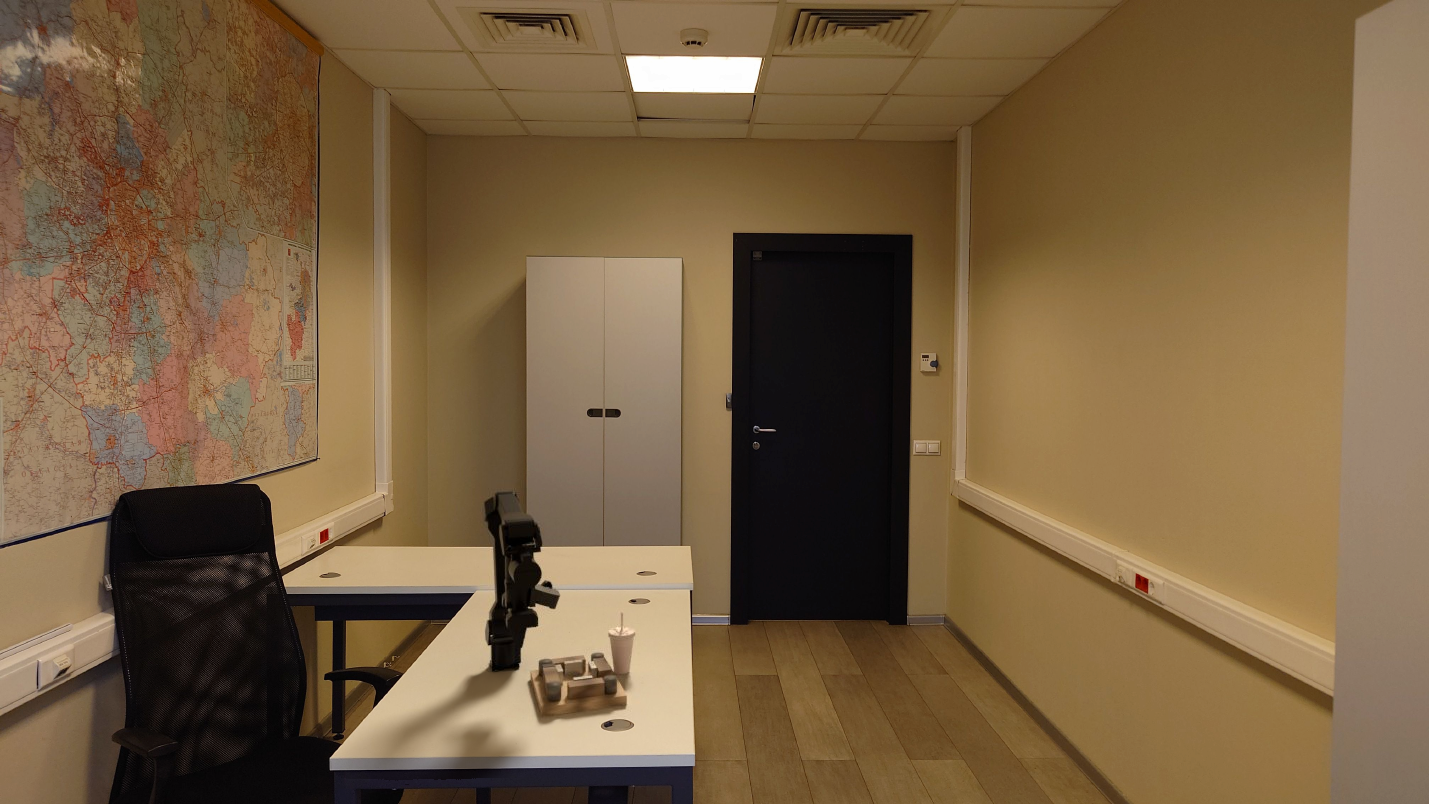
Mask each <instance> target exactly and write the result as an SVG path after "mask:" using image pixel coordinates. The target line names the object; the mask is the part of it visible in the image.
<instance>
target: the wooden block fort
mask: <svg viewBox="0 0 1429 804" xmlns="http://www.w3.org/2000/svg"><path fill="white" fill-rule="evenodd" d="M573 660H582V661H583V674H581V675H573V676H565V675H564V662H565V661H573ZM586 661H587V658H586V657H585V655H584V654H583V655H574V656H564V657H556V658H551V659H550V658H542V659H539V660H538V669H534V670H530V683H531V686H532V689H533V692H534V696H535V699H536V702H537V703H536V704H537V707H538V709H539V713H540V717H542V718H544V717H550V716H557V715H566V714H572V713H579V712H585V711H592V710H597V709H598V710H599V709H600V710H601V709H606V708H613V707H618V706H626V705H628V704H627V703H628V700H627V699H628V695H627V693H626V691H625V689H624V688H623V686H622V684H621V683H620V680H619V679H618V677H617V675H616V673H615V672H614V669H612V666H611V664H610V662H609V661H608V660H607V659H606V657H605V654H604V653H603V652H600V651H599V652H598V651H597V652H593V653H591V655H590V662H592V661H594V663H595V665H596V667H597V678H594V679H587V680H579V681H573V678H575V677H582V676H589V675H588V663H587V662H586ZM552 663H555V665H560V664H561V667H562V669H563V685H561V699H560V700H557V701H549V700H547V695H546V691H545V687H544V682H543V678H542V665H543V664H552Z"/></svg>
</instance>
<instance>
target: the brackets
mask: <svg viewBox="0 0 1429 804" xmlns="http://www.w3.org/2000/svg"><path fill="white" fill-rule="evenodd" d="M587 664H588V675H589V676H582V677H575V678H573V681H579V680H587V679H594V678H597V667H596V665H595V663H594V661H592V662H591V661H588V662H587ZM556 669H557V673H558V676H559V680H560V682H561V685H563V669H562V667H561V664H560V665H556ZM581 674H583V661H582V660H573V661H565V662H564V675H565V676H573V675H581Z"/></svg>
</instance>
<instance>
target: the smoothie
mask: <svg viewBox="0 0 1429 804" xmlns="http://www.w3.org/2000/svg"><path fill="white" fill-rule="evenodd" d="M635 636H636V630H635V629H634V628H633V627H630V626H624V611H621V612H620V626H616V627H612V628H611V629H609V630H608V636H607V637H608V638H609V642H610V643H609V644H610V650H611V658H612V665H613V672H614V674H617V675H626V674H628V673H630V670H631V663H632V654H633V646H634V640H635V639H634V637H635Z"/></svg>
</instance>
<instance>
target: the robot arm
mask: <svg viewBox="0 0 1429 804" xmlns="http://www.w3.org/2000/svg"><path fill="white" fill-rule="evenodd" d="M520 503H521V502H520V499H519V498H518V496H517V492H516V491H513V490H504V491H503V490H502V491H501V490H500V491H496V492H494V493H493V496H491V497H490V498H488V499H486V500H485V501H484V502H483V504H482V510H481V516H482V517H481V518H482V522H483V523H484V524H485V525H484V526H485V531H486V532H487V533H488V535H489V537H491V539H492V553H493V554H492V555H493V572H494V573H493V578H494V579H493V580H494V602H493V604H492V606H491V608H490V610H489V611H488V619H487V620H486V624H485V629H484V636H485V637H484V639H485V640H484V641H485V643H486V644H487V646H488V647H489V646H490V660H489V665H490V670H491V672H493V673H494V672H501V671H509V670H517V669H518V670H519V669H520V667H521V666H520V664H521V663H522V649H523V647H524V641H525V639H526V633H527V631H528V630H527V629H531V628H537V627H539V615H538V613H537V611H536V610H535V609H534V608H536V605H539V606H544V607H547V608H549V609H551V610H556V608H557V606H558V602H559V599H560V597H561V594H560V591H559V590H557V589H556V588H553V583H552V581H550V580H544V581H543V582H542V583H541V584H540V582H541V579H542V576H543V573H542V572H543V571H542V569H541V566H540V565H539V564H538V562H537V561H536V560H535V557H534V556H535V553H541V552H542V549H541V548H542V547H543V539H542V534H541V528H540V527H539V523H537V521H535V519H534V517H533V516H532V515H531V514H529V513H526V512H523V510H522V508H521V504H520Z"/></svg>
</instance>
